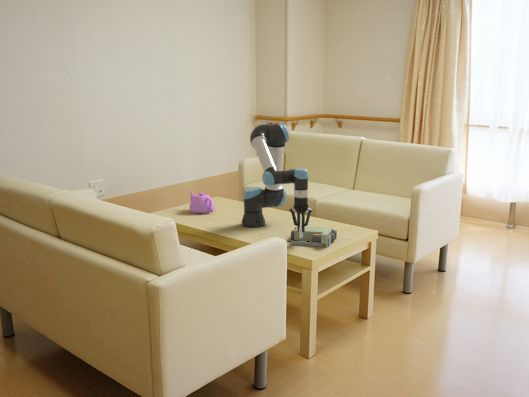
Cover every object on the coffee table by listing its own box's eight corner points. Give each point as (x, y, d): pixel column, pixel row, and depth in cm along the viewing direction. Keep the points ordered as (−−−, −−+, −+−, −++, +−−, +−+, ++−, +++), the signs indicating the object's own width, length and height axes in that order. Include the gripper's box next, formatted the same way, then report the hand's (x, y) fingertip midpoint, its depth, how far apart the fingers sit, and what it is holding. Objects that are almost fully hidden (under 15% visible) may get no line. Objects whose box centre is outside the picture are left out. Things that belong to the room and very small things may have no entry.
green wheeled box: (286, 244, 313) (286, 232, 311) (296, 234, 332) (296, 223, 330) (329, 247, 305) (329, 235, 304) (336, 237, 324) (336, 225, 323)
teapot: (222, 211, 395) (221, 192, 392) (202, 216, 383) (201, 196, 380) (199, 206, 412) (199, 188, 410) (180, 211, 400) (179, 192, 397)
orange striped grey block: (312, 244, 310) (312, 235, 309) (314, 242, 315) (314, 232, 314) (326, 245, 308) (326, 236, 307) (328, 243, 312) (328, 233, 311)
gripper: (287, 197, 308) (288, 238, 313) (310, 198, 304) (310, 240, 309) (291, 194, 315) (291, 234, 320) (314, 195, 311) (313, 236, 316)
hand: (301, 237), depth 314 cm, fingers closed
